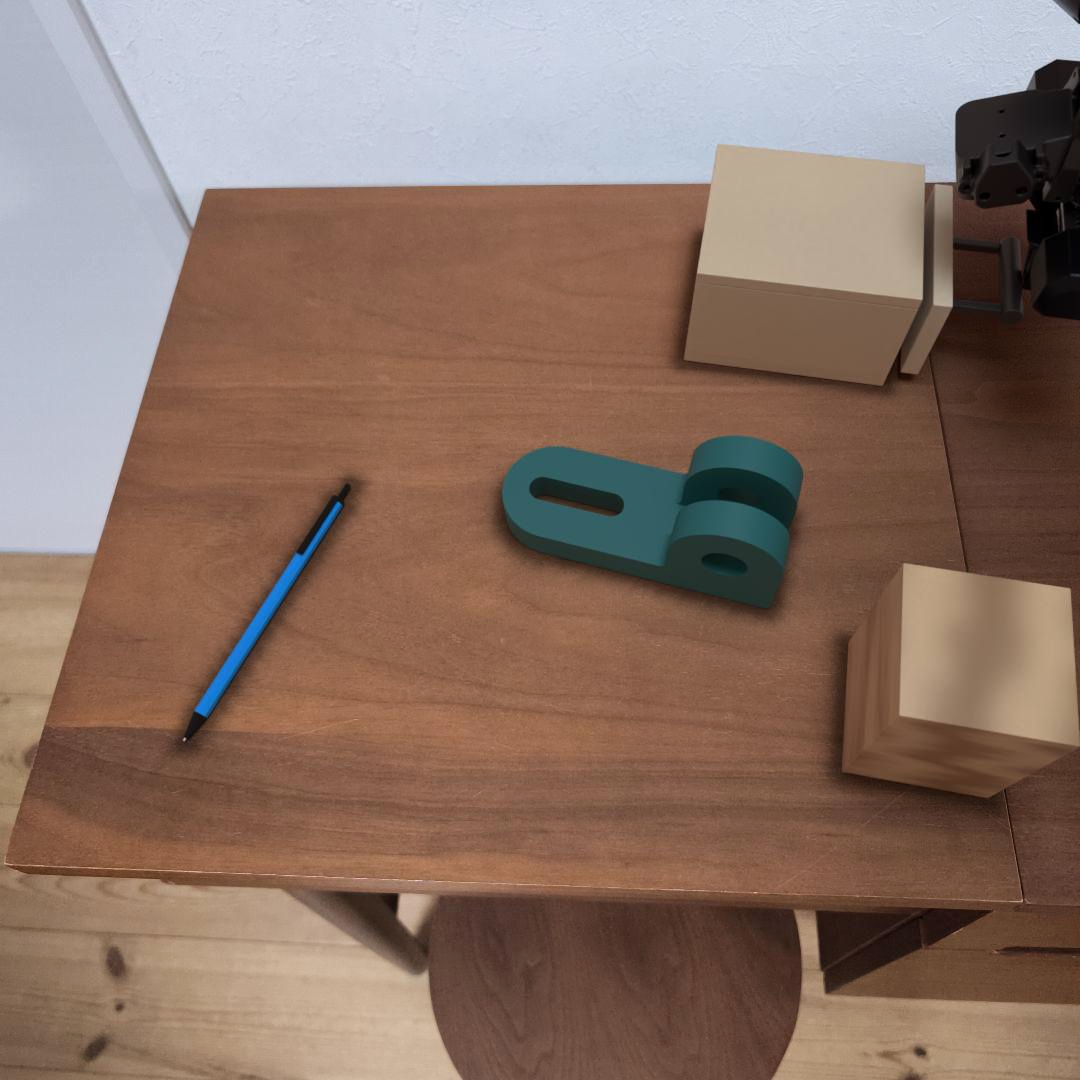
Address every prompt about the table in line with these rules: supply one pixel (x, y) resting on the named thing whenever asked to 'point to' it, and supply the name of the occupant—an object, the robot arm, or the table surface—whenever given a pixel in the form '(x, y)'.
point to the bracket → (665, 515)
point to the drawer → (941, 280)
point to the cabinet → (808, 264)
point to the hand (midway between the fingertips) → (1029, 286)
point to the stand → (961, 682)
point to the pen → (265, 612)
